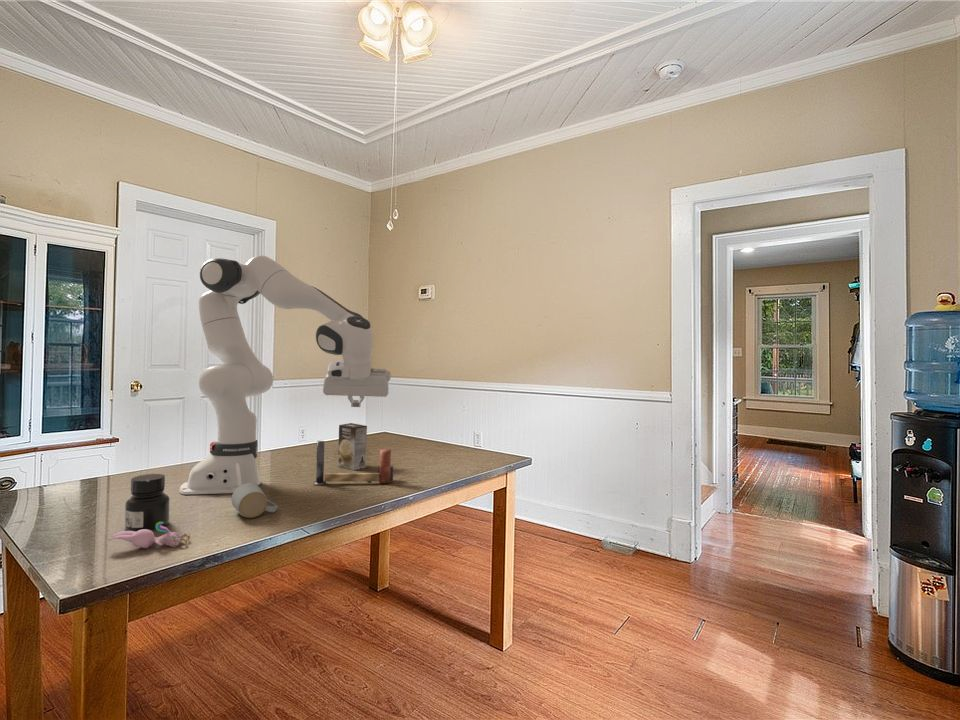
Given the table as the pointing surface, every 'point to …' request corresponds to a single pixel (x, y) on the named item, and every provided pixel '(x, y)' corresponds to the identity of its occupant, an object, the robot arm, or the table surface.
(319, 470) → the hinge post
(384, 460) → the gate
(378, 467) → the catch block
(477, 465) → the table surface
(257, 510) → the ceramic mug
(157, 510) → the ink bottle
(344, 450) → the coffee box
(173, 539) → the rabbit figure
